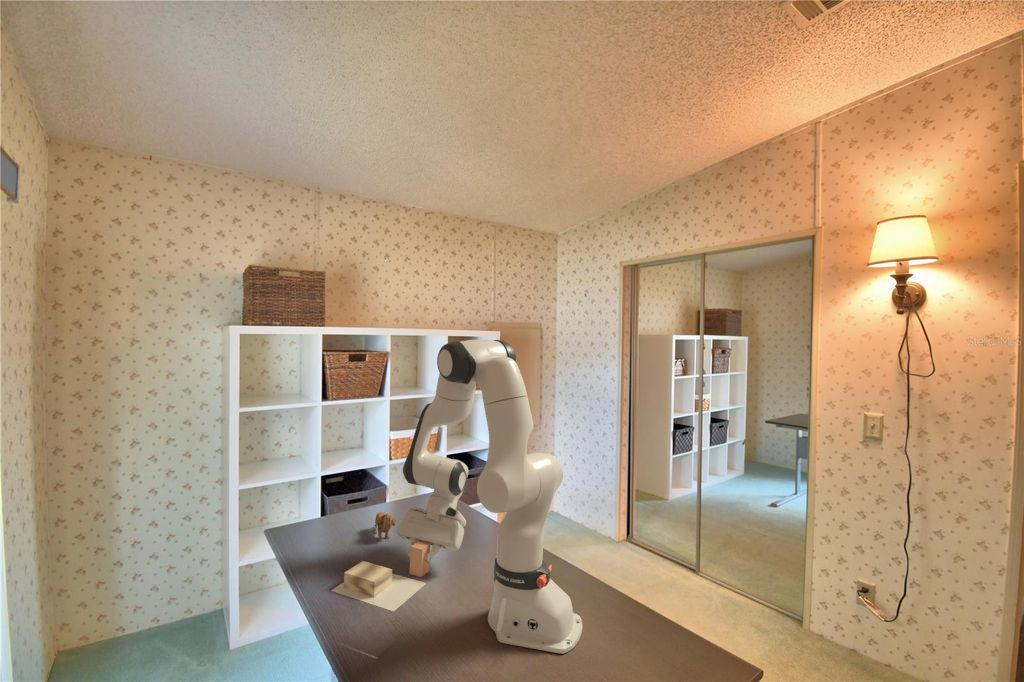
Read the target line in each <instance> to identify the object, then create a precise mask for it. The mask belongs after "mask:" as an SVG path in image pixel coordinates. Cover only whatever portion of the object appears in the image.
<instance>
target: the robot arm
mask: <svg viewBox="0 0 1024 682" xmlns="http://www.w3.org/2000/svg"><path fill="white" fill-rule="evenodd" d="M436 358H437V359H436V364H437V369H438V372H439V373H438V378H437V384H436V390H435V395H434V398H433V400H432V402H430V403H429V402H428V403H427V404H426V405H425V406H424V407H423V409H422V411H421V413H420V416H419V418H418V421H417V425H416V428H415V430H414V435H413V438H412V441H411V445H410V448H409V451H408V454H407V456H406V459H405V461H404V464H403V467H402V474H403V476H404V479H405V480H406V482H407V483H408V484H411V485H415V486H421V487H425V488H429V489H432V490H433V491H432V493H431V494H430V495H429V497H428V499H427V502H426V503H425V507H424V508H420V507H416V506H414V507H412V508H409V509H408V510H407V511H406V513H405V515H404V517H403V518H402V520H401V521H400V523H399V524H398V526H397V528H396V533H397V535H398V536H399V537H400V538H401V539H406V540H409V547H410V546H412V545H413V544H415V543H416V542H418V541H421V542H425V543H429V544H430V546H432V547H431V548H432V549H430V552H429V553H426V554H425V557H424V560H425V561H427V562H430V563H431V562H432V559H433V557H434V556H435V555H437V554H438V553H439V551H440V549H444V550H449V551H452V552H456V551H458V550H459V549H460V548H461V545H462V543H463V539H464V535H465V527H466V525H467V520H466V518H465V517H464V515H463V514H462V513H461V512H460V511H459V510H457V507H458V501H459V500H460V498H461V497H462V496H463V493H464V489H465V487H466V483H467V480H468V475H469V467H468V466H467V465H466V464H465V463H464V462H463V461H461V460H459V459H454V458H453V459H451V458H449V457H444V456H441V455H438V454H434V453H431V452H430V451H428V444H429V443H430V439H431V435H432V431H433V429H434V428H436V427H441V426H451V425H455V424H458V423H461V422H462V421H464V420H465V419H467V418H468V417H469V416H470V415H471V413H472V411H473V407H474V403H475V398H476V397H475V396H476V387H477V384H478V386H479V387H480V391H481V394H482V395H481V396H482V402H483V406H484V408H483V409H484V413H485V418H486V424H487V429H488V430H487V431H488V452H487V458H486V462H485V466H484V468H483V470H482V472H481V474H480V475H479V477H478V479H477V483H476V484H477V485H476V492H477V496H478V497H477V498H478V500H479V501H480V504H481V505H482V506H483V508H485V510H487V511H488V512H490V513H493V514H499V513H500V514H501V513H505V515H504V516H503V518H502V519H501V521H500V522H499V524H498V528H497V532H496V533H497V537H496V539H497V540H496V543H497V544H496V557H495V560H494V566H493V582H494V590H493V595H492V600H491V605H490V608H489V612H488V615H487V623H488V625H489V627H490V628H491V630H493V631H494V632H495V635H496V639H497V641H498V642H499V643H502V644H507V645H512V646H516V647H517V646H518V647H523V648H529V649H533V650H534V649H535V650H540V651H545V652H550V653H556V654H566V653H568V652H570V651H572V649H573V648H575V647H576V645H577V644H578V642H579V640H580V639H581V636H582V634H583V633H582V632H583V620H582V618H581V616H580V615H579V614H577V613H575V612H574V608H573V604H572V600H571V597H570V596H569V595H568V594H567V593H566V592H565V591H564V590H563V589H562V588H561V587H560V586H558V584H556V583H555V582H554V580H552V579H551V571H552V567H553V565H552V564H550V565H549V566H547V564H546V563H545V562H544V559H543V556H544V554H543V553H544V550H543V549H544V538H545V530H546V524H547V520H548V517H549V513H550V509H551V505H552V503H553V501H554V496H555V495H556V492H557V490H558V488H559V487H560V486H561V484H562V482H563V479H564V471H563V467H562V463H561V462H560V461H559V459H558V457H555V455H553V454H551V453H548V452H531V453H528V444H529V440H530V437H531V435H532V434H533V432H534V428H535V427H534V426H535V425H534V419H533V416H532V410H531V407H530V400H529V397H528V392H527V388H526V384H525V381H524V378H523V376H522V373H521V371H520V368H519V365H518V363H517V356H516V352H515V349H514V347H513V345H512V344H511V343H509V342H508V341H505V340H500V339H494V340H490V339H488V340H487V339H468V340H460V341H458V340H455V341H450V342H448V343H446V344H443V345H442V346H441V348H440V349H439V352H438V354H437V357H436ZM407 556H408V557H409V558H410V549H408V553H407Z"/></svg>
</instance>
